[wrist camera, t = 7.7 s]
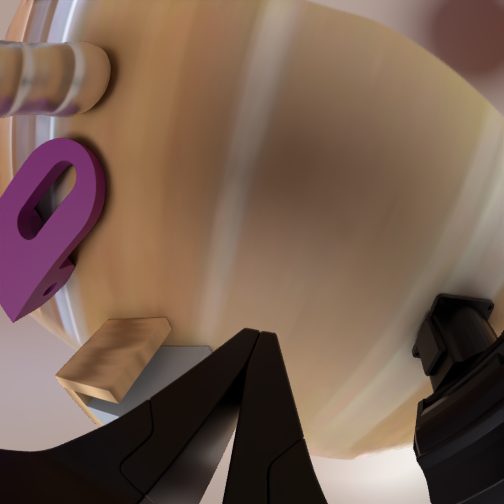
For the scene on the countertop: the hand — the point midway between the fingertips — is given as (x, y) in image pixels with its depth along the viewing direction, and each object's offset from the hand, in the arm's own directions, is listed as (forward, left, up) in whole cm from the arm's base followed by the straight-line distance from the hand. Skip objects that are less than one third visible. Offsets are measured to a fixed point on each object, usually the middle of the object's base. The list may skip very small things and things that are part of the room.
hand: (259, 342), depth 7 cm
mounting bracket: (+24, +3, -14) cm, 27 cm away
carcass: (+14, +17, -13) cm, 25 cm away
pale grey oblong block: (+11, +17, -13) cm, 24 cm away
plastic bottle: (+18, -10, -13) cm, 25 cm away
